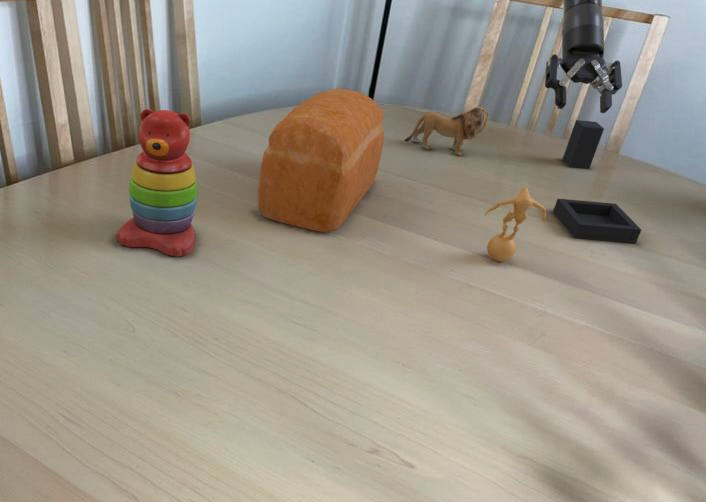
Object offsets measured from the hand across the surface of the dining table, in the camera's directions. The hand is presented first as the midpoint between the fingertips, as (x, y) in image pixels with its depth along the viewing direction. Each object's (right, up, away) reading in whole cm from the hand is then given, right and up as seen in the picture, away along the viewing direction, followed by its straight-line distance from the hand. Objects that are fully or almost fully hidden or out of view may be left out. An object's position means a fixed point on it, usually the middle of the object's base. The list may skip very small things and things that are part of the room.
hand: (583, 109), depth 145 cm
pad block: (-1, -10, +1) cm, 11 cm away
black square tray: (-10, -27, -24) cm, 37 cm away
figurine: (-30, -34, -37) cm, 59 cm away
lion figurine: (-27, -7, +2) cm, 28 cm away
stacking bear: (-79, -31, -40) cm, 93 cm away
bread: (-54, -22, -23) cm, 63 cm away
